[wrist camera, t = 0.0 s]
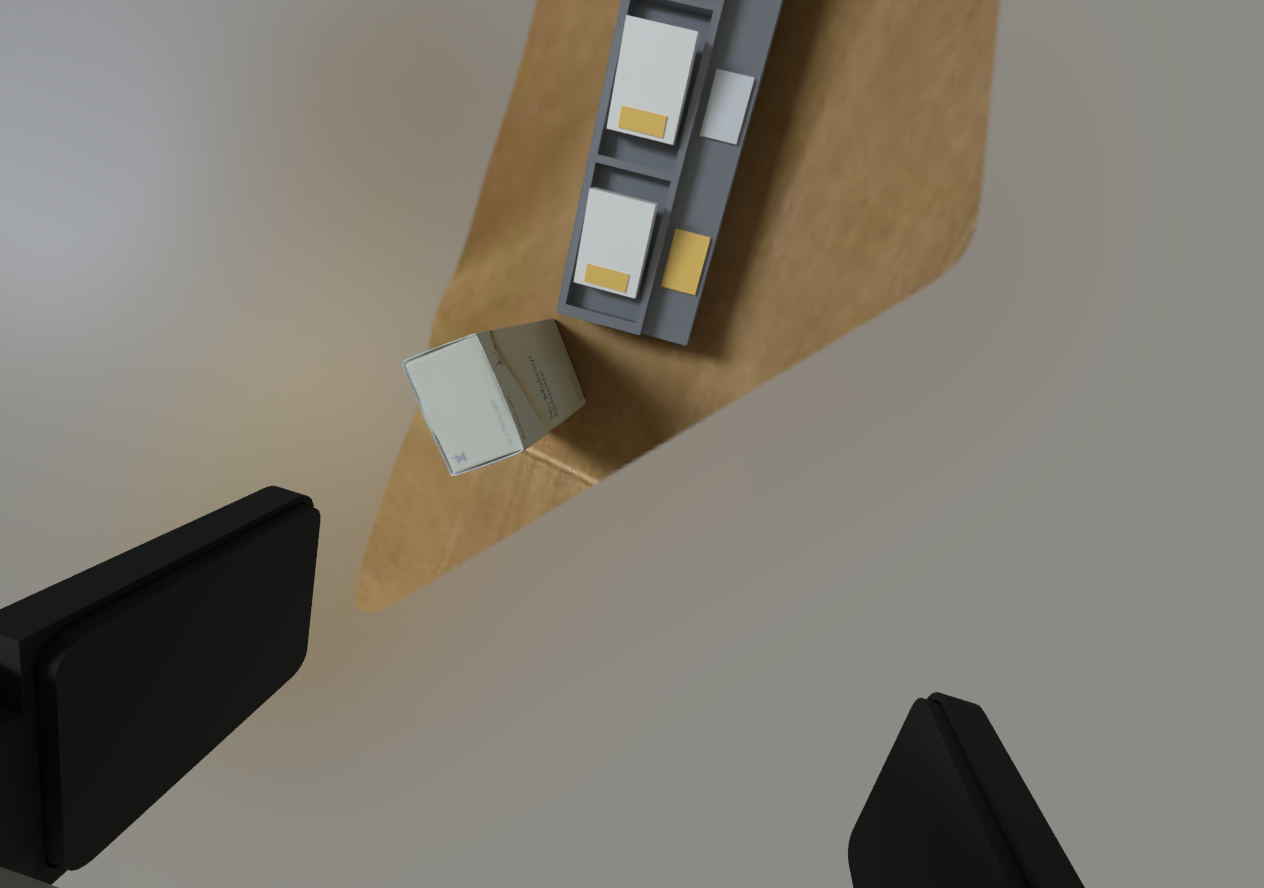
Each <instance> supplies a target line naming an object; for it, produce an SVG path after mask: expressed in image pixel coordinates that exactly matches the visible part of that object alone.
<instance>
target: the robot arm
mask: <svg viewBox="0 0 1264 888" xmlns="http://www.w3.org/2000/svg"><path fill="white" fill-rule="evenodd" d="M319 529H320V513H319V511H318V510H317V509H316V508H314V505H313V502H312V499H311V498H310V497H309V496H306V495H303V494H300V493H296V492H293V491H290V490H287V489H284V488H280V487H277V486H269V487H266V488H264V489H261V490H259V491H257V492H255V493H253V494H250V495H248V496H246V497H244V498H242V499H240V500H238V501H235V502H233V503H231V504H229V505H227V506H224V507H222V508H220V509H218V510H216V511H213V512H211V513H209V514H207V515H205V516H203V517H201V518H198V519H196V520H194V521H192V522H190V523H187V524H185V525H183V526H181V527H179V528H176V529H174V530H172V531H170V532H168V533H165V534H163V535H161V536H159V537H157V538H155V539H152V540H150V541H148V542H146V543H144V544H142V545H139V546H137V547H135V548H133V549H131V550H128V551H126V552H124V553H122V554H120V555H118V556H115V557H113V558H111V559H109V560H107V561H105V562H103V563H100V564H98V565H96V566H94V567H91V568H89V569H87V570H85V571H83V572H81V573H78V574H76V575H74V576H72V577H70V578H68V579H65V580H63V581H61V582H59V583H57V584H54V585H52V586H50V587H48V588H46V589H44V590H42V591H39V592H37V593H35V594H33V595H30V596H28V597H26V598H24V599H22V600H20V601H17V602H15V603H13V604H11V605H9V606H7V607H4V608H2V609H0V888H58V887H55V886H52V885H51V884H53V883H54V882H55V881H56V880H57V879H58V878H59V877H60V876H62V875H63V874H64V873H65V872H66V871H67V870H70V871H73V870H77V869H79V868H81V867H83V866H85V865H86V864H88V863H89V862H90V861H91V860H93V859H94V858H95V857H96V856H97V855H98V854H99V853H100V852H102V851H103V850H104V849H105V848H106V847H107V846H108V845H109V844H110V843H111V842H112V841H114V840H115V839H116V838H117V837H118V836H119V835H120V834H121V833H122V832H123V831H125V830H126V829H127V828H128V827H129V826H130V825H131V824H132V823H133V822H134V821H135V820H136V819H138V818H139V817H140V816H141V815H142V814H143V813H144V812H145V811H146V810H147V809H149V808H150V807H151V806H152V805H153V804H154V803H155V802H156V801H157V800H158V799H159V798H161V797H162V796H163V795H164V794H165V793H166V792H167V791H168V790H169V789H170V788H171V787H173V786H174V785H175V784H176V783H177V782H178V781H179V780H180V779H181V778H182V777H183V776H184V775H186V774H187V773H188V772H189V771H190V770H191V769H192V768H193V767H194V766H195V765H197V764H198V763H199V762H200V761H201V760H202V759H203V758H204V757H205V756H206V755H208V754H209V753H210V752H211V751H212V750H213V749H214V748H215V747H216V746H217V745H218V744H220V742H222V741H223V740H224V739H225V738H226V737H227V736H228V735H229V734H230V733H232V732H233V731H234V730H235V729H236V728H237V727H238V726H239V725H240V724H241V723H242V722H243V721H245V720H246V719H247V718H248V717H249V716H250V715H251V714H252V713H253V712H254V711H255V710H257V708H259V707H260V706H261V705H262V704H263V703H264V702H265V701H266V700H268V699H269V698H270V697H271V696H272V695H273V694H274V693H275V692H276V691H277V690H278V689H280V688H281V687H282V686H283V685H284V684H285V683H286V682H287V681H288V680H289V679H290V678H292V676H294V675H295V673H296V672H297V671H298V670H299V668H300V667H301V665H302V663H303V661H304V659H305V656H306V653H307V646H308V636H309V626H310V616H311V607H312V597H313V587H314V577H315V567H316V558H317V548H318V538H319ZM848 847H849V848H848V861H849V867H850V872H851V877H852V883H853V887H854V888H1085V887H1084V886H1083V884H1082V882H1081V880H1080V879H1079V877H1078V875H1077V873H1076V872H1075V870H1074V868H1073V866H1072V865H1071V863H1070V861H1069V859H1068V858H1067V856H1066V854H1065V853H1064V851H1063V849H1062V847H1061V846H1060V844H1059V842H1058V840H1057V838H1056V837H1055V835H1054V833H1053V831H1052V830H1051V828H1050V826H1049V824H1048V823H1047V821H1046V819H1045V817H1044V816H1043V814H1042V812H1041V810H1040V809H1039V807H1038V805H1037V803H1036V802H1035V800H1034V798H1033V797H1032V795H1031V793H1030V791H1029V789H1028V788H1027V786H1026V784H1025V783H1024V781H1023V779H1022V777H1021V775H1020V774H1019V772H1018V770H1017V768H1016V767H1015V765H1014V763H1013V761H1012V760H1011V758H1010V756H1009V754H1008V753H1007V751H1006V749H1005V748H1004V746H1003V744H1002V742H1001V740H1000V739H999V737H998V735H997V734H996V732H995V730H994V728H993V726H992V725H991V723H990V722H989V719H988V718H987V716H986V714H985V713H984V711H983V710H982V708H981V707H980V706H979V705H976V704H974V703H971V702H968V701H964V700H961V699H958V698H955V697H951V696H948V695H945V694H942V693H939V692H936V693H932V694H931V695H930V696H929V697H928V698H927V699H923V698H918V699H917V700H916V701H915V702H914V704H913V706H912V707H911V709H910V711H909V714H908V716H907V718H906V720H905V722H904V724H903V726H902V728H901V730H900V732H899V735H898V737H897V739H896V741H895V743H894V745H893V747H892V749H891V751H890V753H889V755H888V757H887V760H886V762H885V764H884V766H883V768H882V770H881V772H880V774H879V776H878V779H877V780H876V783H875V785H874V787H873V789H872V791H871V793H870V795H869V798H868V799H867V801H866V804H865V806H864V808H863V810H862V812H861V814H860V816H859V818H858V820H857V822H856V824H855V827H854V829H853V831H852V833H851V836H850V840H849V846H848Z"/></svg>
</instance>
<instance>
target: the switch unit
mask: <svg viewBox="0 0 1264 888" xmlns="http://www.w3.org/2000/svg"><path fill="white" fill-rule="evenodd" d="M784 1H785V0H621V4H620V9H619V13H618V18H617V23H616V28H615V33H614V37H613V42H612V47H611V52H610V57H609V61H608V66H607V71H606V76H605V81H604V85H603V90H602V95H601V100H600V105H599V109H598V114H597V119H596V124H595V129H594V133H593V138H592V143H591V148H590V153H589V157H588V162H587V167H586V172H585V177H584V181H583V186H582V191H581V196H580V200H579V205H578V210H577V215H576V220H575V224H574V229H573V234H572V239H571V244H570V248H569V253H568V258H567V263H566V268H565V272H564V277H563V282H562V287H561V292H560V296H559V301H558V306H557V313H560V314H564V315H567V316H571V317H575V318H578V319H582V320H585V321H589V322H593V323H596V324H600V325H604V326H607V327H611V328H615V329H618V330H622V331H625V332H629V333H633V334H636V335H641V334H645V335H649V336H652V337H656V338H659V339H663V340H667V341H670V342H674V343H678V344H681V345H685V346H687V344H688V343H689V341H690V338H691V335H692V331H693V327H694V324H695V320H696V317H697V313H698V309H699V306H700V302H701V299H702V295H703V291H704V288H705V284H706V281H707V277H708V274H709V270H710V266H711V263H712V259H713V256H714V252H715V248H716V245H717V241H718V238H719V234H720V230H721V227H722V223H723V220H724V216H725V212H726V209H727V205H728V202H729V198H730V195H731V191H732V187H733V184H734V180H735V177H736V173H737V169H738V166H739V162H740V159H741V155H742V151H743V148H744V144H745V141H746V137H747V133H748V130H749V126H750V123H751V119H752V116H753V112H754V108H755V105H756V101H757V98H758V94H759V90H760V87H761V83H762V80H763V76H764V72H765V69H766V65H767V62H768V58H769V54H770V51H771V47H772V44H773V40H774V36H775V33H776V29H777V26H778V22H779V19H780V15H781V11H782V8H783V4H784ZM626 15H629V16H633V17H638V18H642V19H646V20H651V21H655V22H659V23H663V24H668V25H672V26H676V27H681V28H685V29H689V30H694V31H698V32H699V34H700V38H699V42H698V47H697V51H696V56H695V60H694V64H693V69H692V73H691V78H690V82H689V87H688V91H687V96H686V100H685V104H684V109H683V113H682V118H681V122H680V127H679V131H678V136H677V140H676V145H671V144H667V143H663V142H659V141H655V140H651V139H647V138H643V137H639V136H635V135H631V134H627V133H623V132H619V131H615V130H611V129H607V122H608V116H609V111H610V105H611V99H612V93H613V88H614V82H615V76H616V71H617V65H618V59H619V54H620V48H621V42H622V36H623V31H624V25H625V19H626ZM592 187H596V188H600V189H604V190H608V191H612V192H616V193H620V194H624V195H627V196H631V197H635V198H639V199H643V200H647V201H651V202H655V203H659V204H658V209H657V213H656V218H655V222H654V227H653V231H652V236H651V240H650V245H649V249H648V254H647V258H646V263H645V267H644V272H643V276H642V281H641V285H640V290H639V294H638V296H637V297H636V298H631V297H627V296H623V295H620V294H616V293H612V292H609V291H605V290H601V289H598V288H594V287H590V286H586V285H583V284H579V283H575V282H574V276H575V271H576V265H577V259H578V253H579V247H580V241H581V235H582V229H583V224H584V218H585V212H586V206H587V200H588V194H589V188H592Z"/></svg>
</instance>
